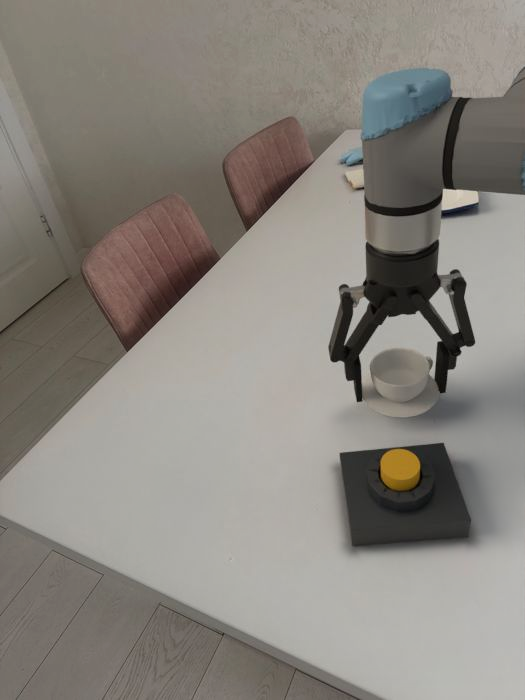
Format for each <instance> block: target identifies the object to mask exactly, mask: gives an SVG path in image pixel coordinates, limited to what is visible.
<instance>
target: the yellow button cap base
mask: <svg viewBox="0 0 525 700" xmlns="http://www.w3.org/2000/svg"><path fill="white" fill-rule="evenodd" d="M393 449H404V450H408V451H410V452H412V453H413V454H415V455H416V456H417V458H418V459H419V462H420V478H419V482H418V484H417V485H416V486H415V487H414V488H413V489H411V490H408V491H395V490H393V489H390V488H389V487H387V486H386V485H385V484H384V482H383V481H382V478H381V459H382V457H383V455H384V454H385V453H387V452H388V451H390V450H393ZM339 462H340V471H341V479H342V486H343V493H344V499H345V500H344V501H345V507H346V514H347V521H348V528H349V536H350V542H351V546H352V547H355V546H368V545H381V544H382V545H383V544H395V543H407V542H420V541H432V540H447V539H459V538H468V537H469V534H470V530H471V529H470V527H471V523H472V519H471V516H470V513H469V510H468V507H467V505H466V504H467V503H466V501H465V499H464V496H463V493H462V490H461V487H460V484H459V482H458V479H457V477H456V474H455V470H454V468H453V465H452V462H451V459H450V456H449V454H448V450H447V448H446V445H445V443H444V442H437V443H426V444H417V445H416V444H415V445H405V446H394V447H383V448H375V449H367V450H366V449H364V450H355V451H344V452H339Z"/></svg>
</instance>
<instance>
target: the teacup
mask: <svg viewBox="0 0 525 700" xmlns="http://www.w3.org/2000/svg"><path fill="white" fill-rule="evenodd" d="M433 364H434V360H433V359H432V358H431V357H430V356H425V355H423V354H422V353H420V352H419V351H417V350H415V349H411V348H407V347H391V348H387V349H383V350H381V351H380V352H377V353H376V354H375V355H374V356H373V357H372V358H371V360H370V363H369V371H370V372H369V373H368V374H367V375H366V376H365V377H364V378H363V379H362V399H363V401H364V403H365V404H366V405H367V406H368V407H369V408H370V409H371V410H373V411H375V412H377V413H379V414H382V415H383V416H387V417H391V418H411V417H416V416H420V415H421V414H424V413H426V412H428V411H429V410H430V409H432V408H433V406H435V404H436V403H437V401H438V399H439V395H440V393H439V389H438V386H437V383H436V381H435V380H434V377H433V376H432V375H431V374H430V372H431V370H432V368H433Z"/></svg>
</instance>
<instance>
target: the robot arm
mask: <svg viewBox="0 0 525 700" xmlns="http://www.w3.org/2000/svg"><path fill="white" fill-rule="evenodd" d="M453 93H454V92H453V89H452V80H451V76H450V75H449V73H448V72H446V71H445V70H443V69H440V68H431V69H430V68H428V67H415V68H408V69H406V68H405V69H400V70H396V71H391V72H388V73H384V74H382V75H379V76H378V77H376V78H374V80H372V81H370V82H369V83H368V84H367V86H366V87H365V89H364V90H363V93H362V108H361V109H362V111H361V132H360V136H359V137H360V140H361V147H362V152H363V159H362V169H363V172H364V187H363V188H364V190H363V192H364V194H363V195H364V196H363V201H364V237H365V240H366V242H365V245H364V247H365V275H366V276H365V279H364V281H363V282H362V284H361V285H356V286H351V287H350V286H349V285H348V284H346V283H342V284H340V285H339V286H338V293H339V300H340V302H339V305H338V309H337V313H336V317H335V320H334V324H333V328H332V332H331V335H330V339H329V342H328V354H329V360H330V362H332V363H338V362H342V363H343V366H344V367H343V368H344V375H345V379H346V381H347V382H353V390H354V395H355V399H356V400H355V401H356V403H362V402H363V401H364V400H363V398H362V382H363V378H362V377H363V376H362V363H361V358H360V355H361V353H362V352H363V350H364V348H365V347H366V346H367V344H368V343H369V341H370V340H371V338H372V337H373V335H374V333H375V332H376V330H377V329H378V328H379V326H382V325H383V323H384V322H385V320H387V318H395V317H399V316H402V315H406V316H410V315H411V316H412V315H417V313H418V312H419V313H420V314H421V316H422V317H423V318H424V319H425V320H426V322H427V323H428V324H429V325H430V327H431V328H432V330H433V331H434V332H435V334H436V335H437V336H438V338H439V339H440V340H439V341H437V342H436V352H435V366H434V367H435V368H434V377H433V379H434V380H435V381H436V383H437V386H438V389H439V394H446V393H447V385H448V384H447V383H448V373H449V371H450V370H455V368H456V367H457V360H458V357H459V356H461V354H462V350H461V348H463V347H467V348H472V347H473V346H475V344H476V338H475V334H474V331H473V327H472V322H471V319H470V315H469V312H468V311H469V310H468V307H467V303H466V299H465V295H466V290H467V283H468V282H467V281H466V279H465V278H464V276H463V274H462V273H461V271H460V270H459V269H456V268H454V269H452V270H451V271H450V272H449V273H448V274H438V267H439V254H440V253H439V252H440V240H439V237H440V235H441V227H442V213H441V210H442V197H443V189H449V190H469V191H478V192H481V193H482V192H484V193H496V194H505V195H506V194H507V195H518V196H519V195H521V196H525V66H523V67H522V68H521V69H520V70H519V72H518V73H517V75H516V76H515V78H514V79H513V80H512V82H511V85H510V86H509V87H508V89H507V90H506V91H505V93H504V95H503V96H490V97H487V96H486V97H463V96H453ZM440 288H442V290H443V291H444V293H445V294H446V295H448V299H449V301H450V305H451V308H452V313H453V316H454V319H455V323H456V326H457V330H458V331H457V332H455V333H453V332H452V331H451V329H450V328H449V326H448V325H447V323H446V322H445V320H444V319H443V318H442V316H441V315H440V313H439V312H438V311H437V310H436V308H435V306H434V305H433V304H432V302H431V301H430V300H431V299H432V298H433V297H434V296H435V294H436V293H437V292H438V291H439V290H440ZM362 298H365V299H366V300H367V301H368V304H367V306H366V310H365V312H364V314H363V315H362V317H361V318H360V320H359V321H358V323H357V325H356V326H355V328H354V330H353V331H352V333H351V334H350V336H349V338H348V339H347V337H348V333H349V330H350V328H351V327H350V326H351V323H352V321H353V315H354V308H357V306H358V305H359V303H360V300H361V299H362ZM425 320H424V321H425ZM346 340H347V341H346Z"/></svg>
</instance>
